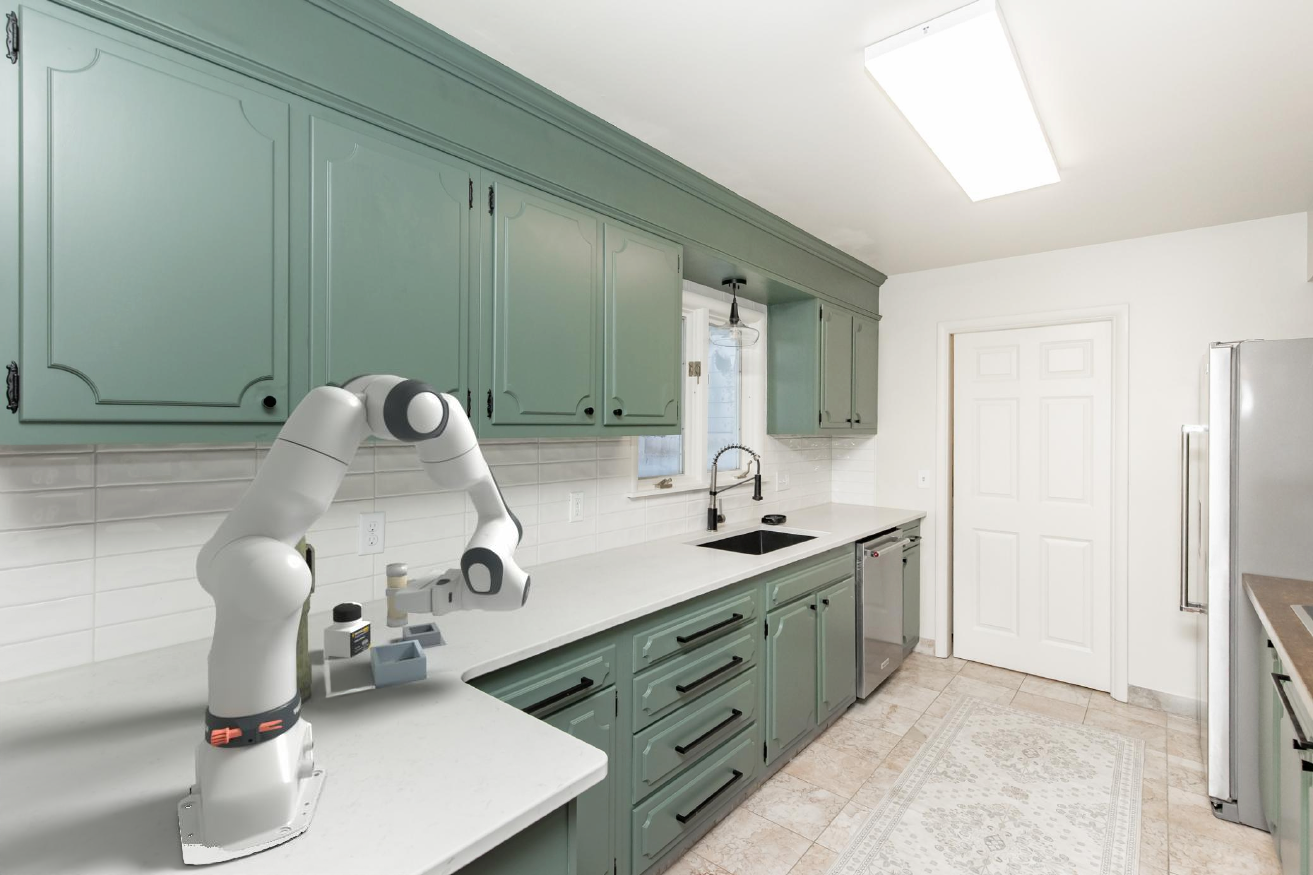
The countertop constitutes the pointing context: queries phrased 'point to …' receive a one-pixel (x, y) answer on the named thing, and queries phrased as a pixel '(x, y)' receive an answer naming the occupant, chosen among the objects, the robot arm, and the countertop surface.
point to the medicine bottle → (347, 632)
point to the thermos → (305, 628)
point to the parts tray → (397, 663)
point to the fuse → (394, 579)
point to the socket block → (423, 635)
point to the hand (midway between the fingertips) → (392, 587)
